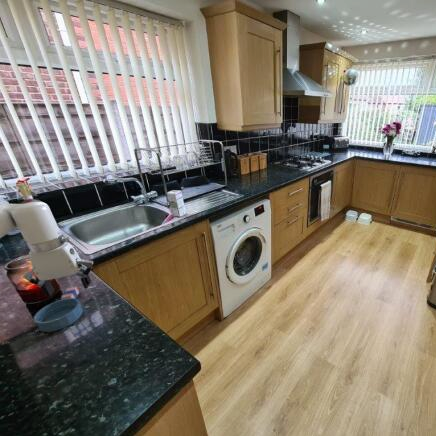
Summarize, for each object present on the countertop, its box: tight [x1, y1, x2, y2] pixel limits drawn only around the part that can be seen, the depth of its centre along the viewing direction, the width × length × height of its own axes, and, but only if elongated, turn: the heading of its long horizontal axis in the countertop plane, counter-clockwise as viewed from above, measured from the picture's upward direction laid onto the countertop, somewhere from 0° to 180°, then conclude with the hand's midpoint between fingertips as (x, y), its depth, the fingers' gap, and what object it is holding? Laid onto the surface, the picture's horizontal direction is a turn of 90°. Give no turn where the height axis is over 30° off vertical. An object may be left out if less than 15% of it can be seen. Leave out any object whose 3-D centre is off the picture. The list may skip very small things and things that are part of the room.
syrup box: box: [166, 189, 186, 218], centre depth 143 cm, size 6×6×14 cm
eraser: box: [60, 286, 80, 300], centre depth 79 cm, size 5×3×3 cm, turn 22°
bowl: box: [33, 298, 84, 333], centre depth 71 cm, size 10×10×4 cm
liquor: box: [16, 182, 43, 204], centre depth 111 cm, size 7×7×28 cm
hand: (69, 289), depth 79 cm, fingers open, 9 cm apart
